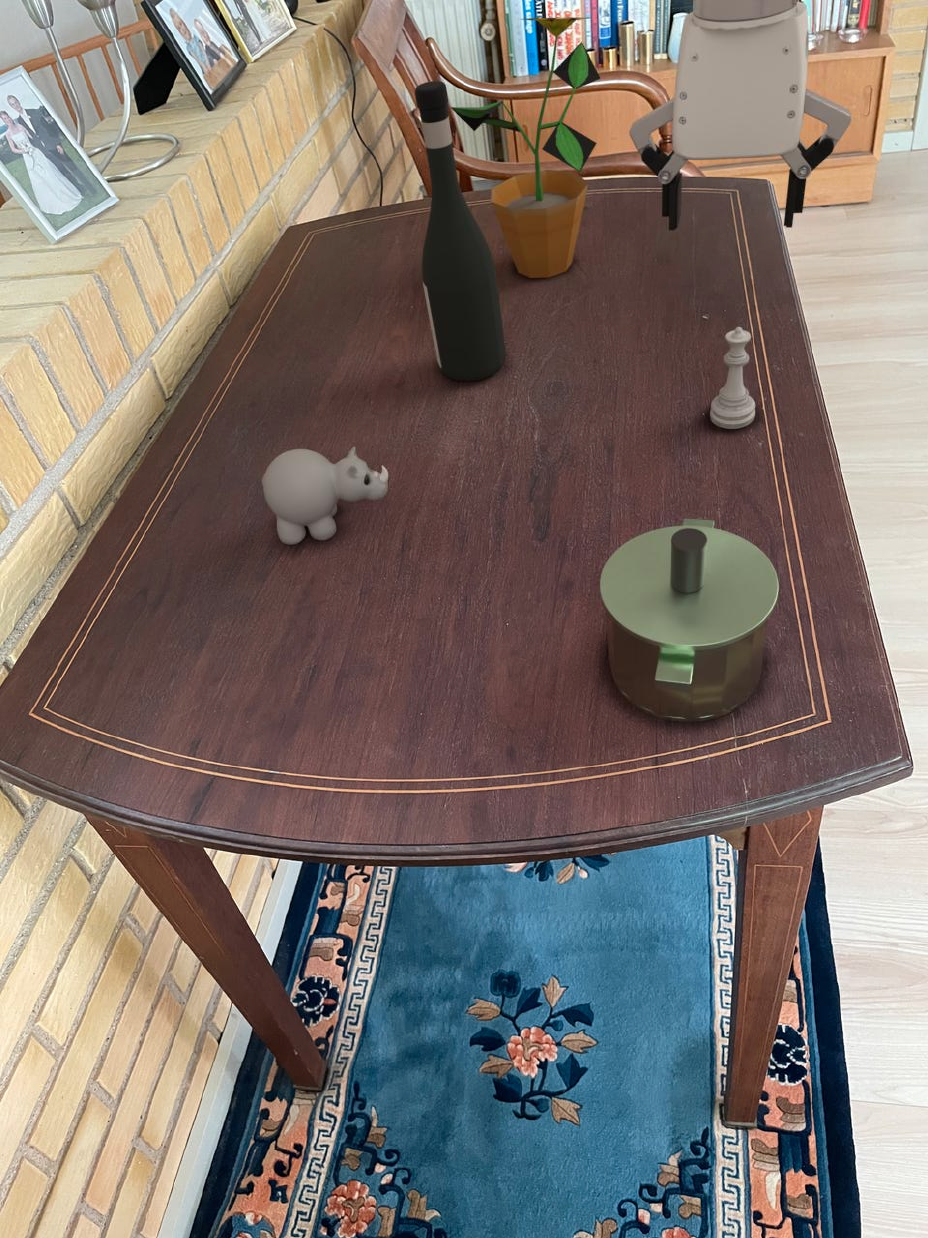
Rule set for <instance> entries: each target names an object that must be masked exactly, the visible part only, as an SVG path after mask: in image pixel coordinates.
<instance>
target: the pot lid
mask: <svg viewBox="0 0 928 1238" xmlns="http://www.w3.org/2000/svg"><path fill="white" fill-rule="evenodd" d="M766 555H767V554H765V553H764V552H763V551H762V550H761V549H760V548H758V546H756V545H755V544H753V543H752V542H750V541H749V540H747V539H745V538H743V537H742V536H739V535H738V534H734V533H732V532H730V531H727V530H724V529H719V528H715V527H714V528H710V527H704V526H687V525H685V526H682V525H673V526H672V525H671V526H666V527H665V526H664V527H660V528H656V529H652V530H650V531H646V532H644V533H642V534H639V535H637V536H635V537H633V538H630V539H629V540H628V541H626V542H625V543H623V544H622V545H621V546H619V547H618V548H617V549H616V550H615V551H614V552H613V553H612V554H611V555H610V556H609V558H608V559H607V561H606V562H605V564H604V566H603V567H602V571H601V574H600V579H599V592H600V593H599V594H600V599H601V602H602V605H603V607H604V609H605V611H606V614H607V613H608V614H609V616H610V617H611V618H612V620H613V621H614V622H615V623H616V624H617V625H618V626H619V627H621V628H622V629H623V630H624V631H626V632H627V633H629V634H630V635H632V636H634V637H636V638H638V639H640V640H642V641H644V642H647V643H650V644H652V645H656V646H660V647H664V648H669V649H676V650H705V649H712V648H717V647H721V646H726V645H728V644H731V643H734V642H737V641H739V640H741V639H743V638H745V637H747V636H749V635H750V634H752V633H753V632H755V631H756V630H757V629H758V628H760V627H761V626H762V625H763V624H764V623H765V622H766V620H767V619H768V620H769V618H770V617H771V615H772V613H773V612H774V610H775V608H776V605H777V602H778V597H779V589H780V587H779V578H778V574H777V571H776V569H775V567H774V565H773V563H772V562H771V560H770V559H769V557H768V556H766Z"/></svg>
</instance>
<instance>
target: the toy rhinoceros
mask: <svg viewBox="0 0 928 1238" xmlns="http://www.w3.org/2000/svg"><path fill="white" fill-rule="evenodd" d="M356 450H357V447H356V446H352V447H351V449H350V450H349V451H348V455H347V456H346V457H345V458H342V459H340V460H339V461H337V462H336V463H333V462H331V461H330V460H329V459H328V458H327V457H325V456H324V455H323V454H321V453H319V452H317V451H314V450H312V449H308V448H294V449H290V450H286V451H284V452H283V453H281V454H279V455H277V456H276V457H275V458H274V459H273V460H272V461H271V462H270V463H269V465H268V467H267V469H266V471H265V472H264V474H263V476H262V478H261V485H262V489H263V496H264V500H265V502H266V503H267V506H268V508H269V509H270V510H271V511H272V512H273V514H274V516H276V532H277V535H278V538H279V540H280V541H281V542H282V543H283V544H285V545H288V546H290V545H297V544H299V543H300V542H302V541H303V539H305V537H306V533H307V532H306V527H307V528H308V532H309V534H310V536H311V537H312V538H313V539H315V540H317V541H326V540H329V539H331V538H332V537H333V536H335V534H336V533H337V524H336V521H335V519H334V516H335V515H336V514H337V511H338V506H337V504H338V501H339V500H342V501H345V502H349V503H356V502H359V501H361V500H364V499H366V500H368V501H373V502H374V501H379V500H381V499H383V498H384V497H385V496H386V494H387V493H388V490H389V484H388V479H389V472H388V470H387V469H386V467H385V466H384V465H381V473H380V472H378V471H377V470H373V469H371V468H369V467H368V464H367V462H366V461H365V460H363V459H361V458H360V457H358V455H357V451H356ZM305 526H306V527H305Z"/></svg>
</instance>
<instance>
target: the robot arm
mask: <svg viewBox="0 0 928 1238" xmlns="http://www.w3.org/2000/svg"><path fill="white" fill-rule="evenodd" d="M692 3H693V4H692V5H693V6H692V11H691V12H689V13H688V14H686V15H685V16H684V20H683V24H682V29H681V34H680V39H679V40H680V41H679V47H678V55H677V61H676V62H677V63H676V71H675V82H674V94H673V95H674V96H673V97H672V98H670V99H669V100H667V101H666V102H664V103H662V104H661V105H660V106H658V107H656V108H655V109H653V110H651V111H650V112H648V113H646V114H645V115H643V116H641V117H640V118H638V119H636V120H635V121H634V122H632V124H631V126H630V129H629V131H628V133H629V137H630V139H631V141H632V142H633V145H634V146H635V148H636V150H637V152H638V153H639V155H640V159H641V161H642V163H643V164H644V165H645V166H646V167H647V168H648V169H649V170H650V171H652V173H653V174H654V175H655V176H656V177H657V180H658V183H660V184H661V190H662V191H661V217H662V218H666V217H668V231H676V230H677V229H678V228H679V225H680V224H679V223H680V220H681V216H682V193H683V192H682V191H683V190H682V187H683V185H682V184H683V173H682V172H681V170H682V168H683V167H685V165H686V164H687V163H688V161H711V160H714V161H715V160H737V159H757V158H774V157H781V159H783V161H784V162H785V163H786V164H787V167H789V170H788V171H789V172H788V180H787V190H786V197H785V198H786V200H785V209H784V216H783V217H784V218H783V227H785V228H786V229H787V228H788V229H789V228H793V224H794V215H795V214H803V211H804V203H805V202H804V201H805V193H806V186H807V179H808V178H809V177H810V176H811V174H812V172H813V171H814V170H816V168H817V167H819V165H820V164H822V163H823V162H824V161H825V160H826V159H827V158H828V157H829V156H831V154H832V153H834V150H835V147H836V146H837V144H838V142H840V140H841V138H842V137H843V135H844V134H845V132H846V131H847V129H848V128H849V126H850V125H851V122H852V112H851V110H849V109H848V108H846V107H844V106H842V105H840V104H839V103H836V102H834V101H832V100H831V99H828V98H826V97H824V96H823V95H820V94H818V93H816V92H814V91H812V90H810V89H809V88H807V81H808V68H809V67H808V65H809V42H810V41H809V39H810V38H809V36H810V34H809V33H810V32H809V16H808V5H807V4H806V3H804V2H801V1H798V0H693V2H692ZM805 114H806V115H808V116H810V117H811V118H814V119H816V120H818V121H820V122H822V123H824V124H826V125H827V126H826V127H825V129H824V131H823V133H822V135H820V136H819V137H818V138H817V139H816V140H815V141H814V142H813V143H812V144H811V145H809V147H807V146H806V145H805V144H804V142H803V140H801V134H802V129H803V122H804V118H805V117H804V116H805ZM670 122H672V125H671V126H672V127H671V129H672V131H671V141H672V149H671V150H670V152H669V153H668V154H666V152H665V151H664V150H663V149H662V148H661V147H659V146H658V145H657V143H655V141H654V140H653V139H654V138H653V136H652V133H654V132H655V131H657V130H658V129H660V128H662V127H664V126H665V125H667V124H669V123H670Z"/></svg>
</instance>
